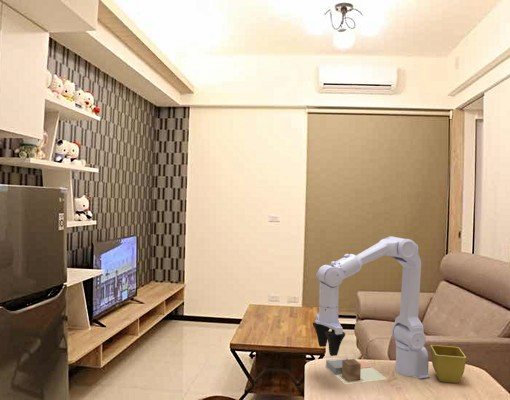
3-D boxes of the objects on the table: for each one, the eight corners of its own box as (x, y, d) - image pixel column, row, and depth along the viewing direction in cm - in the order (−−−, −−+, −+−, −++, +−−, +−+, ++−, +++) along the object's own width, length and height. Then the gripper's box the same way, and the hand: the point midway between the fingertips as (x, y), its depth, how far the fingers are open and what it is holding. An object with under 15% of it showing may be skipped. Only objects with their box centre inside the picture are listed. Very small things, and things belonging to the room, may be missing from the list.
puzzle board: (363, 363, 144) (363, 360, 144) (387, 382, 130) (387, 378, 130) (323, 368, 140) (323, 364, 140) (344, 387, 126) (344, 383, 126)
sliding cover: (346, 364, 141) (347, 357, 141) (356, 372, 134) (356, 365, 134) (326, 366, 139) (326, 359, 139) (335, 374, 132) (335, 367, 132)
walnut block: (353, 377, 133) (354, 358, 133) (360, 383, 129) (360, 363, 129) (342, 379, 132) (342, 360, 132) (348, 384, 128) (348, 365, 128)
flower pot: (466, 387, 128) (466, 357, 127) (435, 384, 129) (435, 354, 129) (458, 374, 136) (458, 346, 136) (429, 372, 138) (429, 344, 138)
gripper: (307, 300, 134) (306, 343, 134) (326, 313, 120) (326, 361, 120) (327, 299, 136) (326, 341, 136) (349, 311, 122) (348, 358, 122)
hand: (327, 350), depth 128 cm, fingers open, 7 cm apart
